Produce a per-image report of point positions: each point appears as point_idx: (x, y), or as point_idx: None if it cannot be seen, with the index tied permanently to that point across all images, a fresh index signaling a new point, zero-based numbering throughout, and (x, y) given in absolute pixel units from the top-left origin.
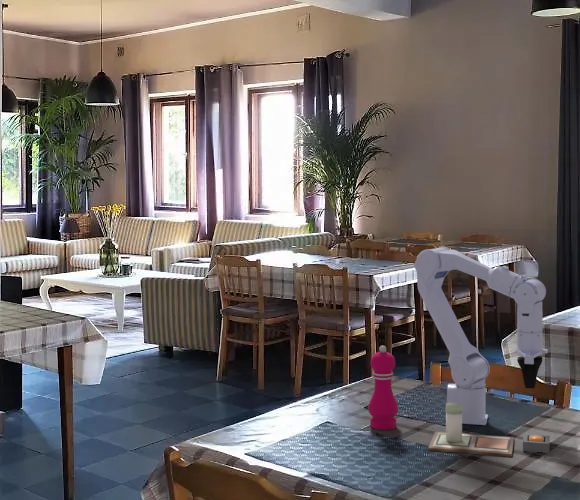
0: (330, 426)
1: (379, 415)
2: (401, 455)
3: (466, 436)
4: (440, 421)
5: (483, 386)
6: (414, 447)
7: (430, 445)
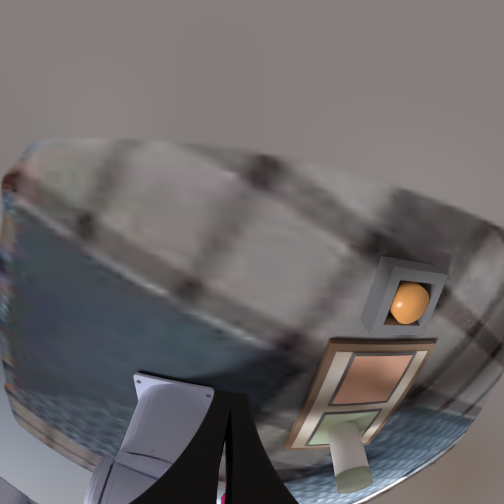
0: None
1: None
2: (379, 453)
3: (323, 419)
4: None
5: (171, 465)
6: None
7: None
